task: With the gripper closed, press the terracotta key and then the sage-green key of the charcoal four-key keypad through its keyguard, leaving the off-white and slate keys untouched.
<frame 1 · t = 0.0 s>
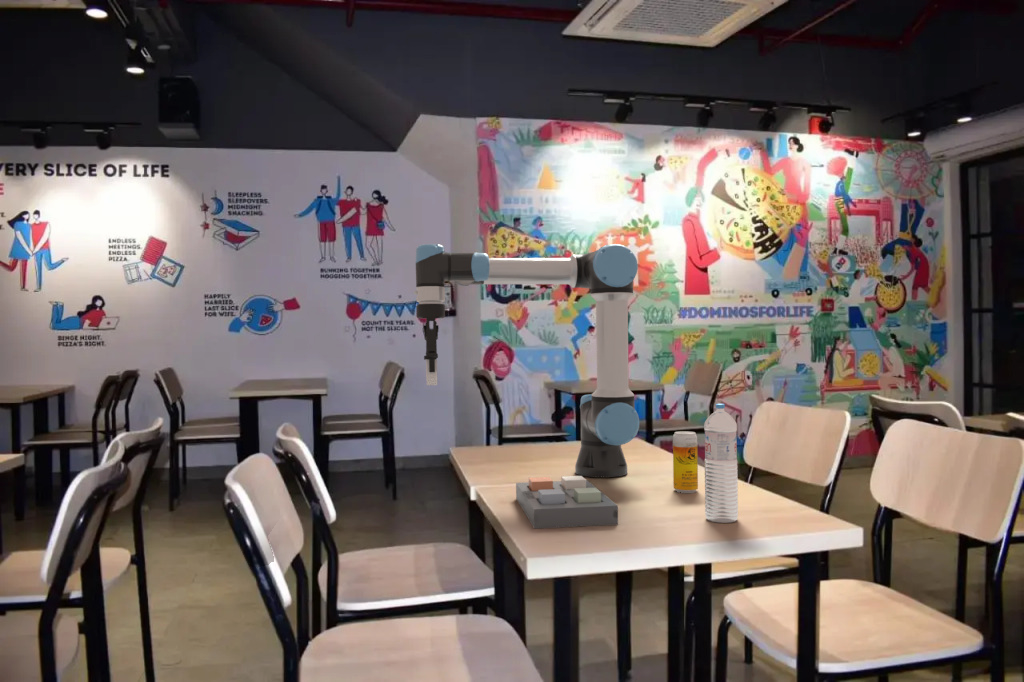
hand: (431, 383, 191), 28 cm above the table, fingers open, 13 cm apart
keypad: (563, 510, 166), on the table
sage key: (587, 497, 159), point 4 cm above the table, slide at 0.0 cm
cream key: (573, 484, 173), point 4 cm above the table, slide at 0.0 cm
water bottle: (721, 520, 156), on the table
terracotta key: (540, 485, 172), point 4 cm above the table, slide at 0.0 cm
beer can: (685, 491, 185), on the table
slate key: (551, 498, 158), point 4 cm above the table, slide at 0.0 cm
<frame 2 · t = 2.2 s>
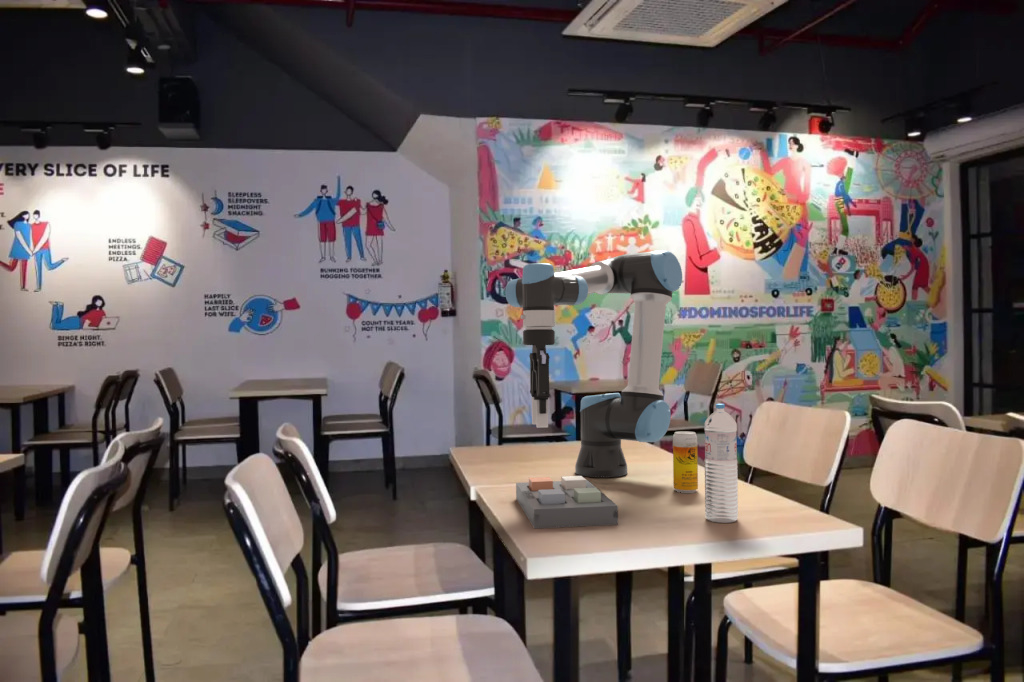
hand: (539, 425, 172), 19 cm above the table, fingers open, 6 cm apart
nothing on the table moved.
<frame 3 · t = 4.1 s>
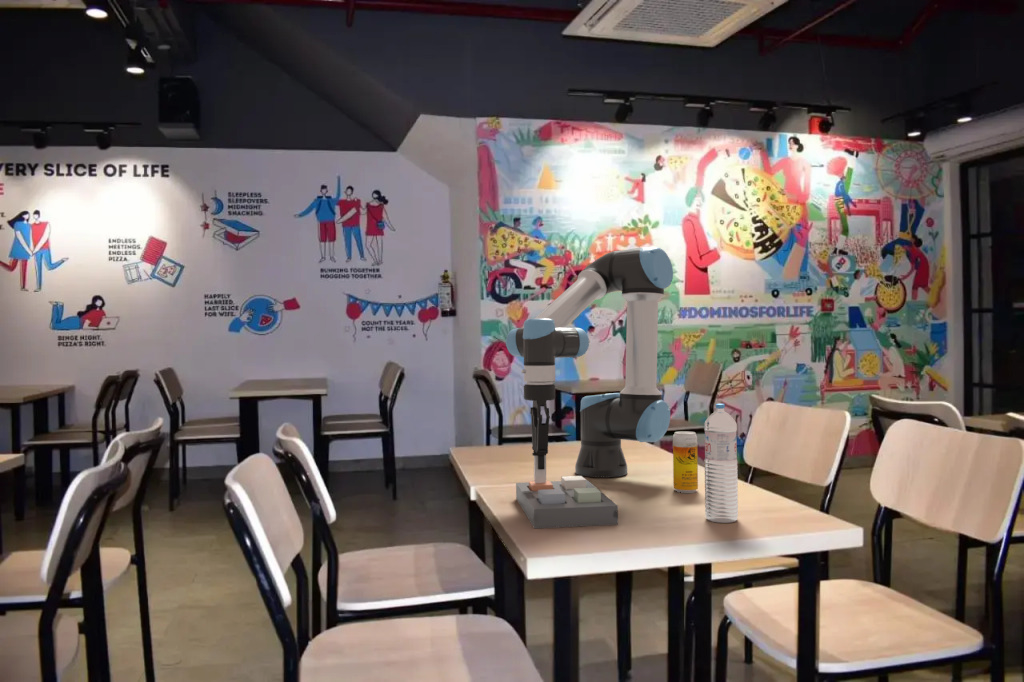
hand: (540, 482, 172), 5 cm above the table, fingers closed
terracotta key: (540, 489, 172), point 4 cm above the table, slide at 0.9 cm, touching gripper
everything else where it was.
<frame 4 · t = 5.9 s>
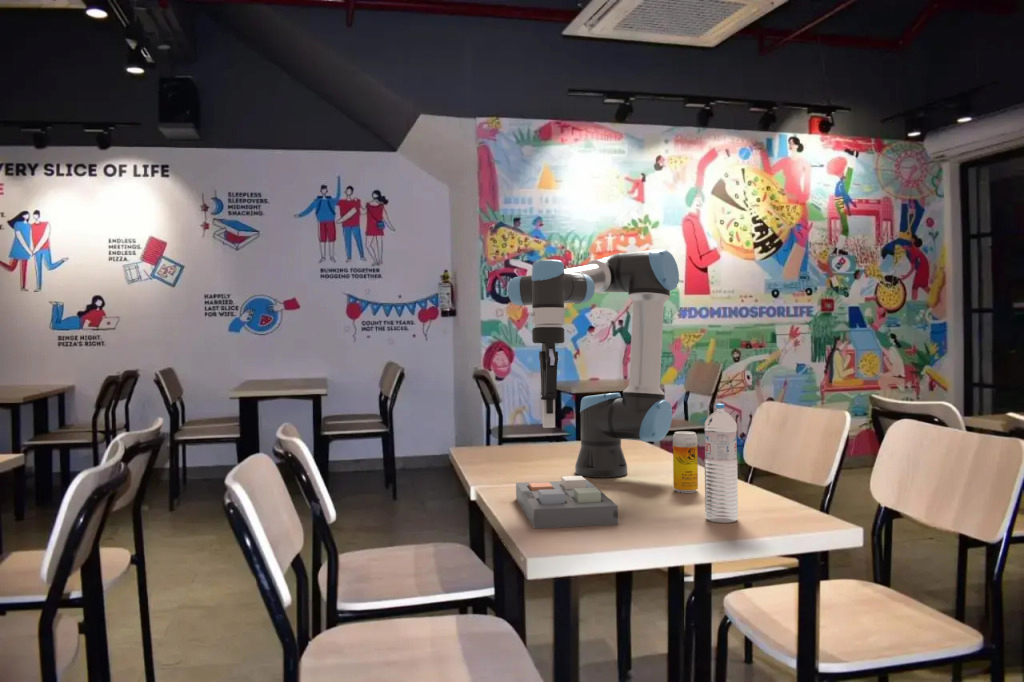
hand: (548, 427, 169), 19 cm above the table, fingers closed
terracotta key: (540, 490, 172), point 3 cm above the table, slide at 1.2 cm
everything else where it was.
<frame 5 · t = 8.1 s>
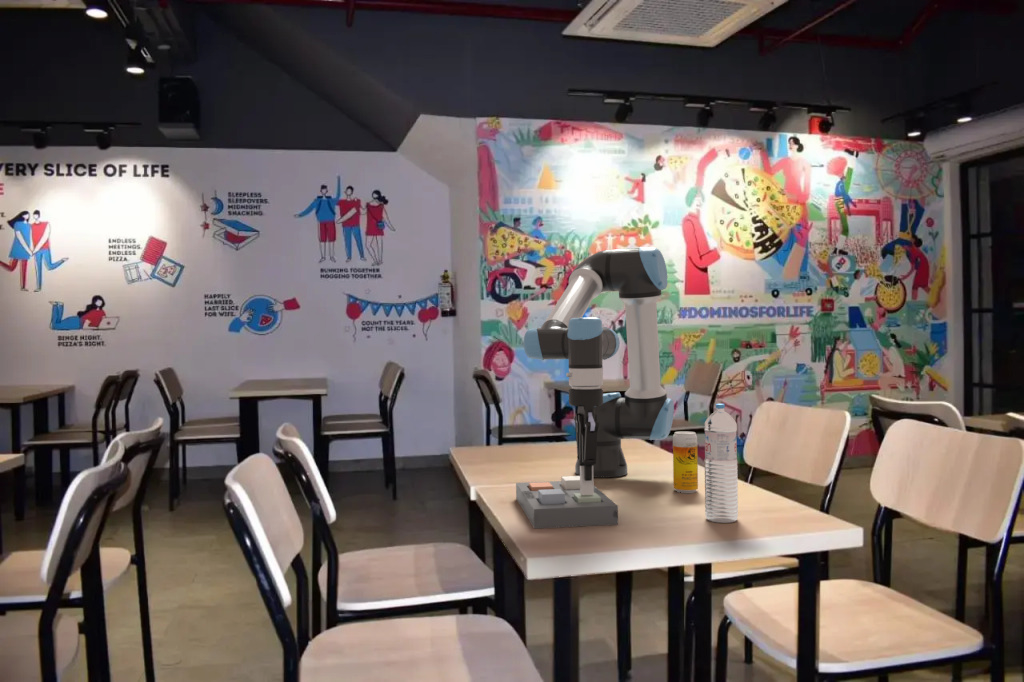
hand: (586, 494, 159), 5 cm above the table, fingers closed
sage key: (587, 502, 159), point 3 cm above the table, slide at 1.1 cm, touching gripper
everything else where it was.
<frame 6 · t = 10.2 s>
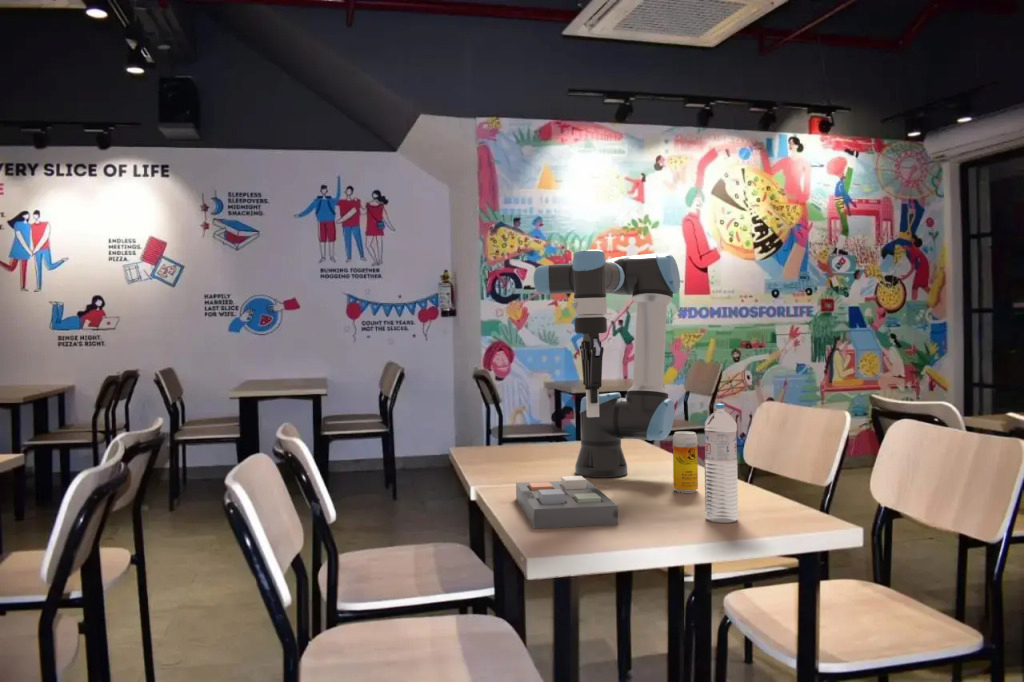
hand: (593, 416, 170), 21 cm above the table, fingers closed
sage key: (587, 502, 159), point 3 cm above the table, slide at 1.2 cm
everything else where it was.
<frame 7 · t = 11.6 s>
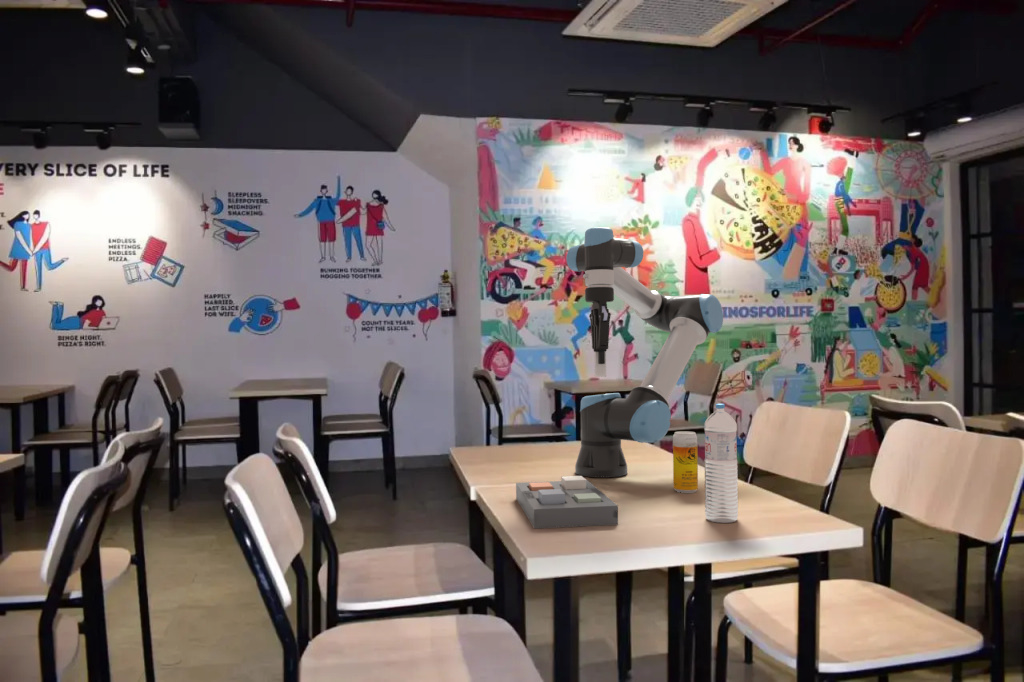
hand: (600, 376, 190), 29 cm above the table, fingers closed
nothing on the table moved.
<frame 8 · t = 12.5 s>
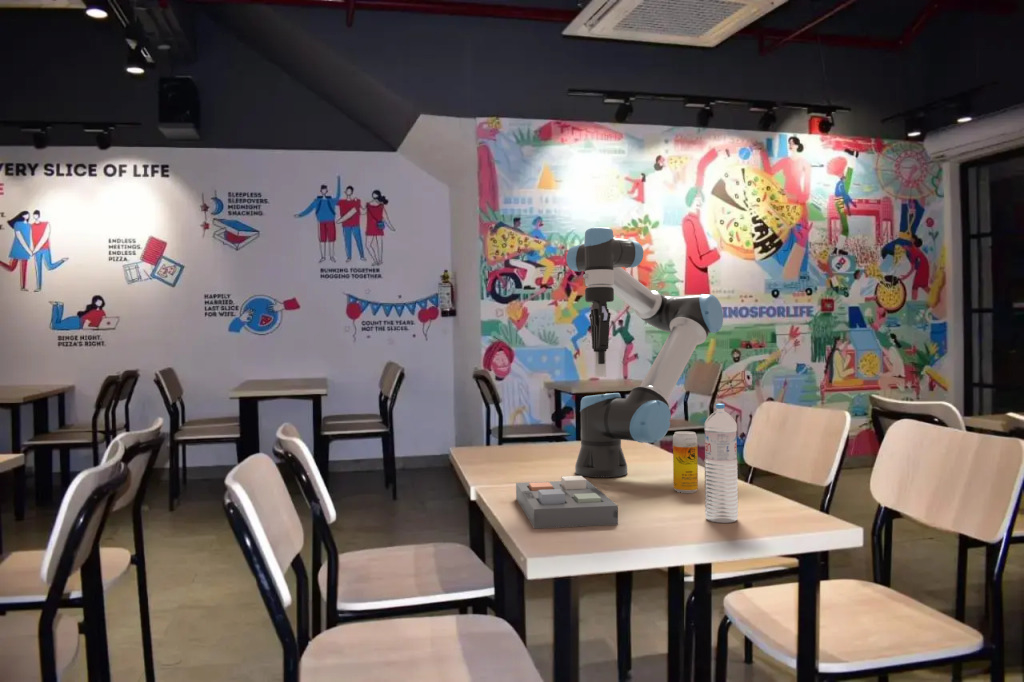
hand: (600, 376, 190), 29 cm above the table, fingers closed
nothing on the table moved.
at the end: terracotta key slide at 1.2 cm; sage key slide at 1.2 cm; cream key slide at 0.0 cm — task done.
